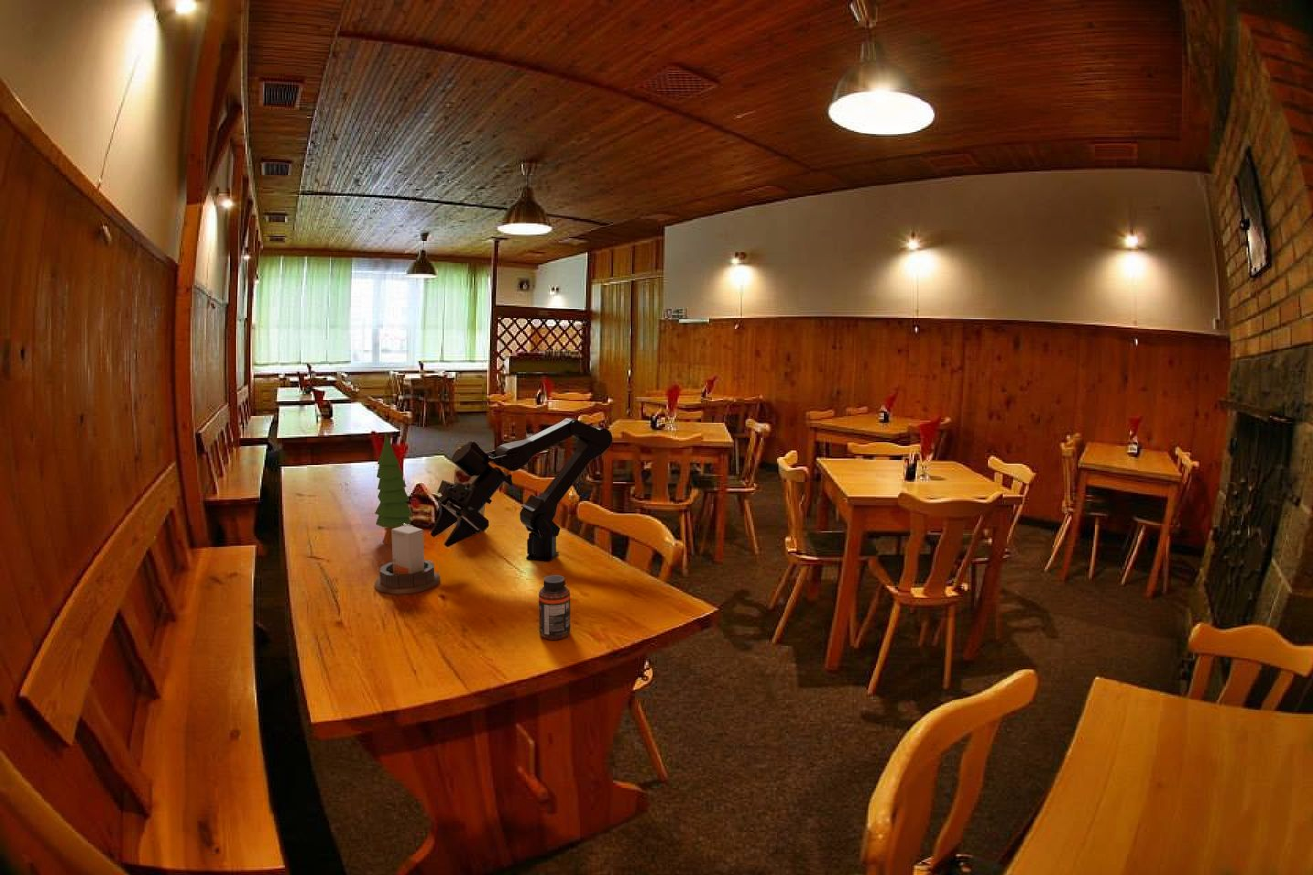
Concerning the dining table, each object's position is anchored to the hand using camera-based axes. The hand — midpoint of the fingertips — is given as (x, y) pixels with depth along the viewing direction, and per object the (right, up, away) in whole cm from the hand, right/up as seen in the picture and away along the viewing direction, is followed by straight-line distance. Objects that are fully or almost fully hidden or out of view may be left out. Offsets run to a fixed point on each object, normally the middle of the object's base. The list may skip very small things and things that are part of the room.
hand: (438, 540), depth 162 cm
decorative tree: (-20, -4, +28) cm, 35 cm away
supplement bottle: (+31, -14, -28) cm, 44 cm away
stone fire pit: (-6, -9, -3) cm, 11 cm away
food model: (-3, -3, +37) cm, 37 cm away
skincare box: (-6, -9, -3) cm, 11 cm away
